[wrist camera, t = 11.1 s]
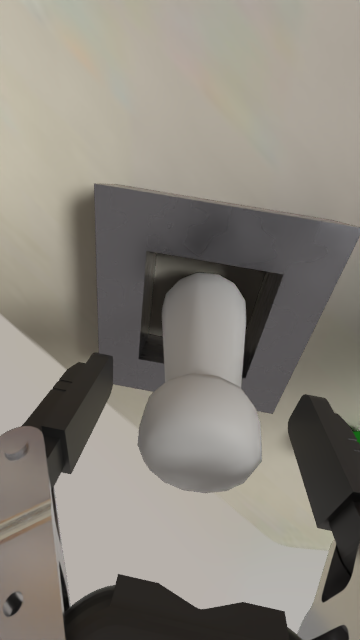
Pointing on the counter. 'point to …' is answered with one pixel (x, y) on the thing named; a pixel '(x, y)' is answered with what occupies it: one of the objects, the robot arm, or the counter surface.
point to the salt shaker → (202, 391)
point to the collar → (219, 247)
